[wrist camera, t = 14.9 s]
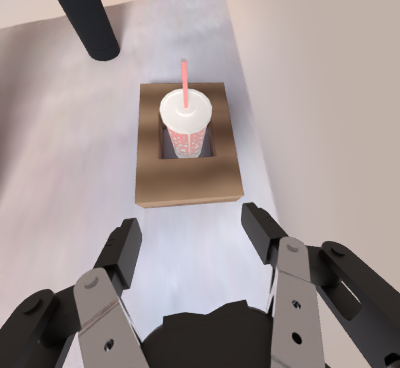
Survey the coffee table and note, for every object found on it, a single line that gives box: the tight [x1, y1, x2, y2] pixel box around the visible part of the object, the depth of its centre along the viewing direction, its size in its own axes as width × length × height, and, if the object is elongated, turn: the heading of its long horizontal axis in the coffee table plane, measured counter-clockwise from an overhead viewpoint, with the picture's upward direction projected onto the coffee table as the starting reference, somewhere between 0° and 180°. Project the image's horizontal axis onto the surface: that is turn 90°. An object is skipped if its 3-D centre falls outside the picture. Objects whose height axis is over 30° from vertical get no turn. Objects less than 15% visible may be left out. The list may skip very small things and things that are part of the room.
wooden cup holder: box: [135, 83, 244, 208], centre depth 24 cm, size 20×14×4 cm
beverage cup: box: [159, 59, 212, 158], centre depth 19 cm, size 6×6×14 cm
